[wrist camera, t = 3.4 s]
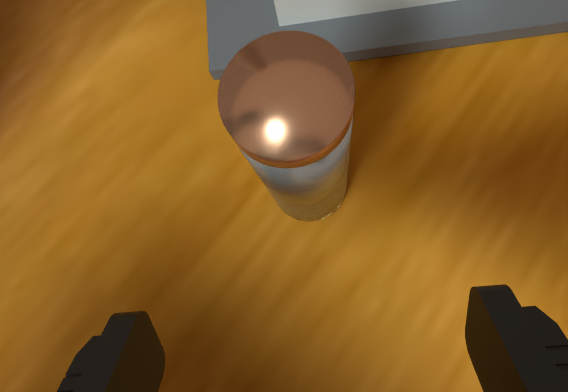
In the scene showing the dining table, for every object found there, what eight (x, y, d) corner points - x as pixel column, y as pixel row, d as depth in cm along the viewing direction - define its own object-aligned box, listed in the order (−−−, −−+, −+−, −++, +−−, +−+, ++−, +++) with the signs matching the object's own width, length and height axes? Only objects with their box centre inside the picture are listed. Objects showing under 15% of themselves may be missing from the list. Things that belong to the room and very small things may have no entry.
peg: (275, 224, 23) (220, 165, 12) (270, 154, 23) (214, 40, 13) (350, 217, 22) (363, 149, 12) (342, 145, 23) (346, 21, 12)
